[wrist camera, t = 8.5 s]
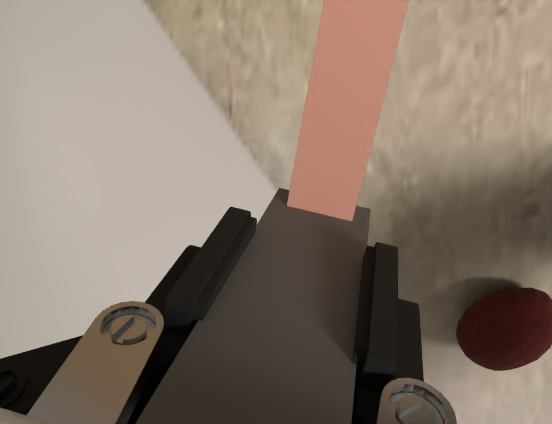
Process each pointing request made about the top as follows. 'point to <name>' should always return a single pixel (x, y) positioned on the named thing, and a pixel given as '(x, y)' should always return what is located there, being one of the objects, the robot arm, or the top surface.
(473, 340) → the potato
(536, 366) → the top surface
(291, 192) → the rake
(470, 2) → the top surface
